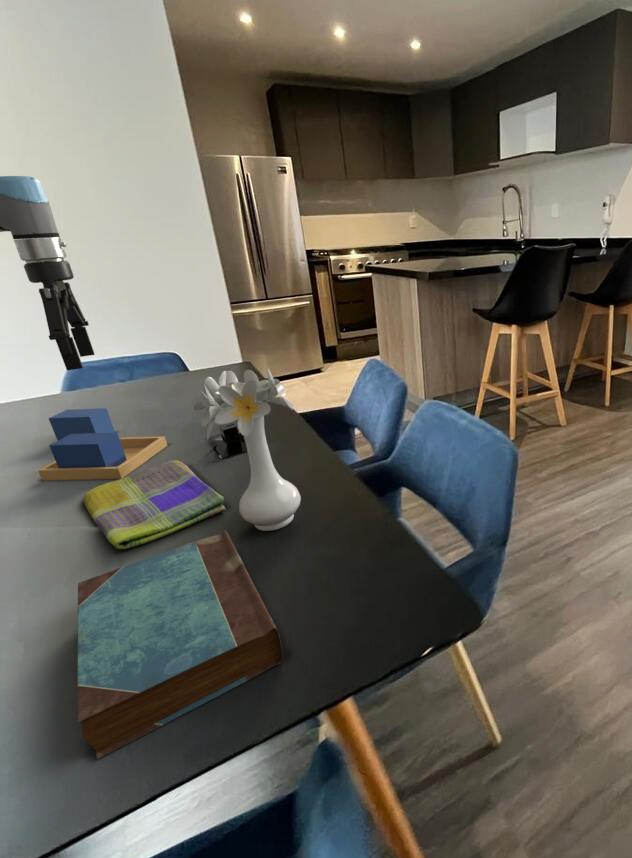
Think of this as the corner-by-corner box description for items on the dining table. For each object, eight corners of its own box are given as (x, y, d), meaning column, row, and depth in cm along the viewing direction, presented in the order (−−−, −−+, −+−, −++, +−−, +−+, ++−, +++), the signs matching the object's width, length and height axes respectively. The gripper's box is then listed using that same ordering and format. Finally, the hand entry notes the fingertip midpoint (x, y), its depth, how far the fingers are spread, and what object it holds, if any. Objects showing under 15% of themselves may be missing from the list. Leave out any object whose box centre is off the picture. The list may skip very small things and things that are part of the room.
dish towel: (112, 559, 72) (106, 544, 71) (83, 502, 89) (77, 488, 88) (231, 510, 83) (227, 496, 82) (185, 467, 100) (181, 455, 99)
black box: (257, 449, 106) (252, 429, 104) (221, 460, 102) (216, 439, 100) (241, 432, 115) (236, 414, 113) (208, 441, 111) (203, 422, 110)
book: (286, 661, 53) (277, 626, 51) (93, 762, 44) (73, 724, 42) (235, 558, 71) (227, 529, 69) (89, 615, 62) (75, 583, 60)
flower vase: (279, 486, 90) (250, 353, 80) (336, 522, 78) (309, 370, 68) (207, 517, 81) (164, 372, 72) (257, 563, 69) (214, 396, 60)
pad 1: (59, 446, 114) (48, 418, 111) (77, 436, 119) (67, 409, 117) (99, 444, 113) (89, 416, 111) (116, 435, 118) (106, 408, 116)
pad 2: (62, 477, 97) (49, 445, 95) (82, 464, 102) (71, 433, 100) (109, 476, 97) (97, 443, 94) (128, 463, 102) (117, 432, 99)
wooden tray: (43, 483, 97) (37, 470, 96) (98, 449, 111) (94, 438, 110) (122, 481, 96) (118, 468, 94) (168, 447, 109) (164, 436, 108)
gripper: (52, 262, 91) (91, 372, 99) (80, 257, 112) (110, 348, 120) (1, 265, 88) (46, 378, 96) (40, 260, 109) (73, 353, 117)
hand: (81, 362), depth 108 cm, fingers open, 13 cm apart
